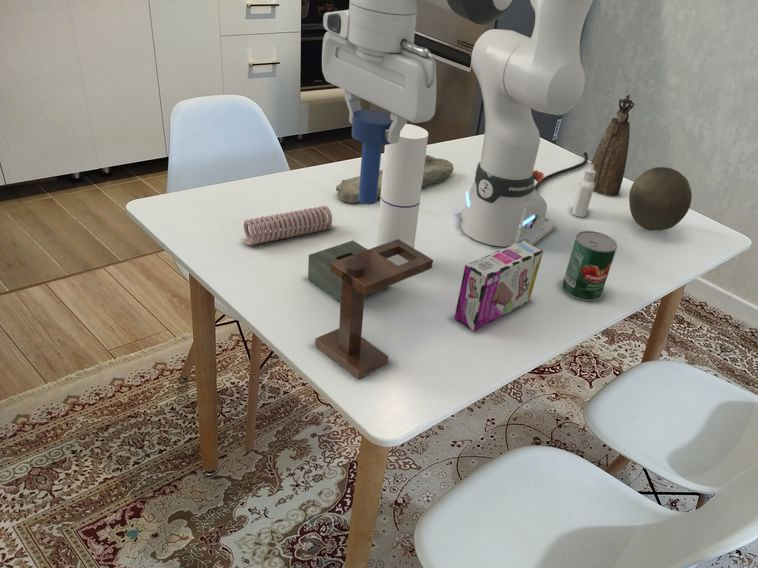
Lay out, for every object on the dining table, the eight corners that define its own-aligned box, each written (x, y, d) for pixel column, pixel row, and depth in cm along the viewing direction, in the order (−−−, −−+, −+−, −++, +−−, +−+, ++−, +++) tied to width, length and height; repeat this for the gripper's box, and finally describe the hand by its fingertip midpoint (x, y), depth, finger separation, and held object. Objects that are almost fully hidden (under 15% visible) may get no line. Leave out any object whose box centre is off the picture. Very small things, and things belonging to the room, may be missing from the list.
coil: (250, 229, 118) (337, 212, 129) (238, 215, 120) (325, 200, 131) (250, 250, 121) (335, 232, 132) (238, 237, 123) (323, 220, 134)
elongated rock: (324, 197, 146) (353, 217, 142) (324, 175, 142) (355, 195, 138) (433, 162, 168) (461, 178, 164) (436, 142, 164) (465, 158, 160)
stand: (384, 315, 111) (393, 228, 101) (426, 343, 106) (440, 256, 97) (314, 346, 101) (317, 253, 92) (357, 379, 96) (365, 285, 87)
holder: (351, 264, 122) (353, 240, 119) (388, 287, 118) (390, 263, 115) (307, 279, 116) (308, 254, 113) (344, 305, 111) (346, 280, 108)
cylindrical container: (383, 270, 122) (396, 139, 108) (369, 251, 127) (380, 123, 112) (418, 266, 126) (435, 138, 111) (403, 248, 130) (418, 123, 116)
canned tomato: (575, 275, 133) (589, 226, 126) (608, 292, 129) (625, 243, 123) (554, 288, 127) (568, 237, 121) (588, 306, 124) (604, 255, 117)
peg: (369, 189, 106) (376, 107, 98) (395, 204, 103) (405, 121, 95) (338, 196, 101) (344, 112, 94) (365, 212, 98) (372, 126, 91)
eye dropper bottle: (565, 211, 158) (578, 163, 151) (578, 206, 161) (591, 159, 154) (579, 218, 156) (593, 170, 149) (592, 213, 159) (606, 166, 152)
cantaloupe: (620, 211, 163) (638, 153, 154) (676, 224, 162) (698, 166, 153) (619, 235, 152) (639, 173, 143) (679, 249, 151) (703, 188, 142)
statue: (588, 193, 169) (616, 94, 155) (582, 181, 175) (609, 85, 161) (620, 197, 171) (651, 100, 156) (613, 185, 177) (642, 90, 162)
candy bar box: (487, 278, 104) (545, 249, 115) (463, 264, 106) (522, 237, 117) (474, 334, 111) (530, 302, 122) (452, 320, 113) (509, 289, 124)
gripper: (453, 51, 85) (439, 154, 93) (350, 11, 94) (345, 108, 103) (419, 53, 81) (407, 161, 89) (315, 11, 90) (312, 112, 98)
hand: (373, 132), depth 96 cm, fingers closed on peg, 6 cm apart
